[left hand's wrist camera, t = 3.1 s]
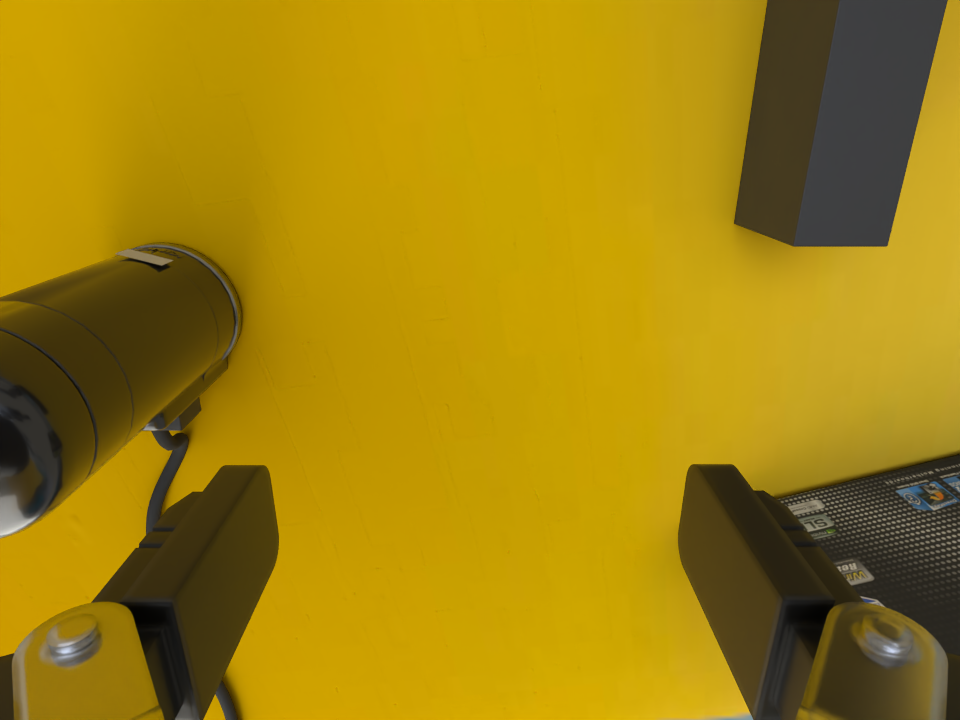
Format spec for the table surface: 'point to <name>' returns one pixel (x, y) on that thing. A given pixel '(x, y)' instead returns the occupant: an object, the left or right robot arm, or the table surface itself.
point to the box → (895, 541)
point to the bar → (835, 118)
